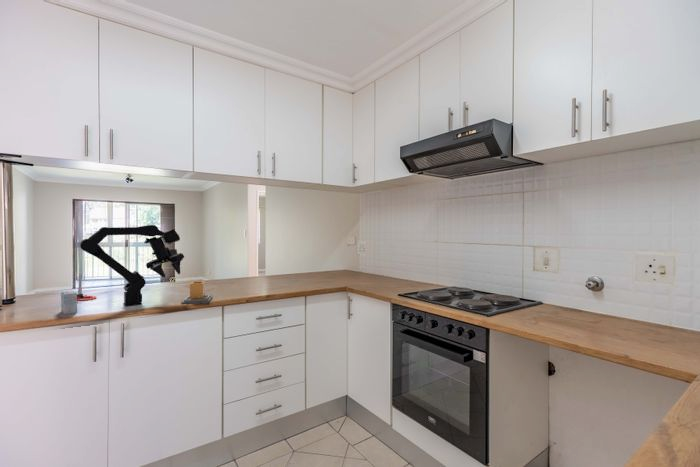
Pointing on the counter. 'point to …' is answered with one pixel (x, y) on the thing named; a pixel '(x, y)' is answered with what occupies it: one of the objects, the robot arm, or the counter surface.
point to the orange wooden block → (197, 290)
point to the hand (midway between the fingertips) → (172, 275)
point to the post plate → (197, 300)
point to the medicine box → (69, 302)
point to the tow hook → (80, 295)
